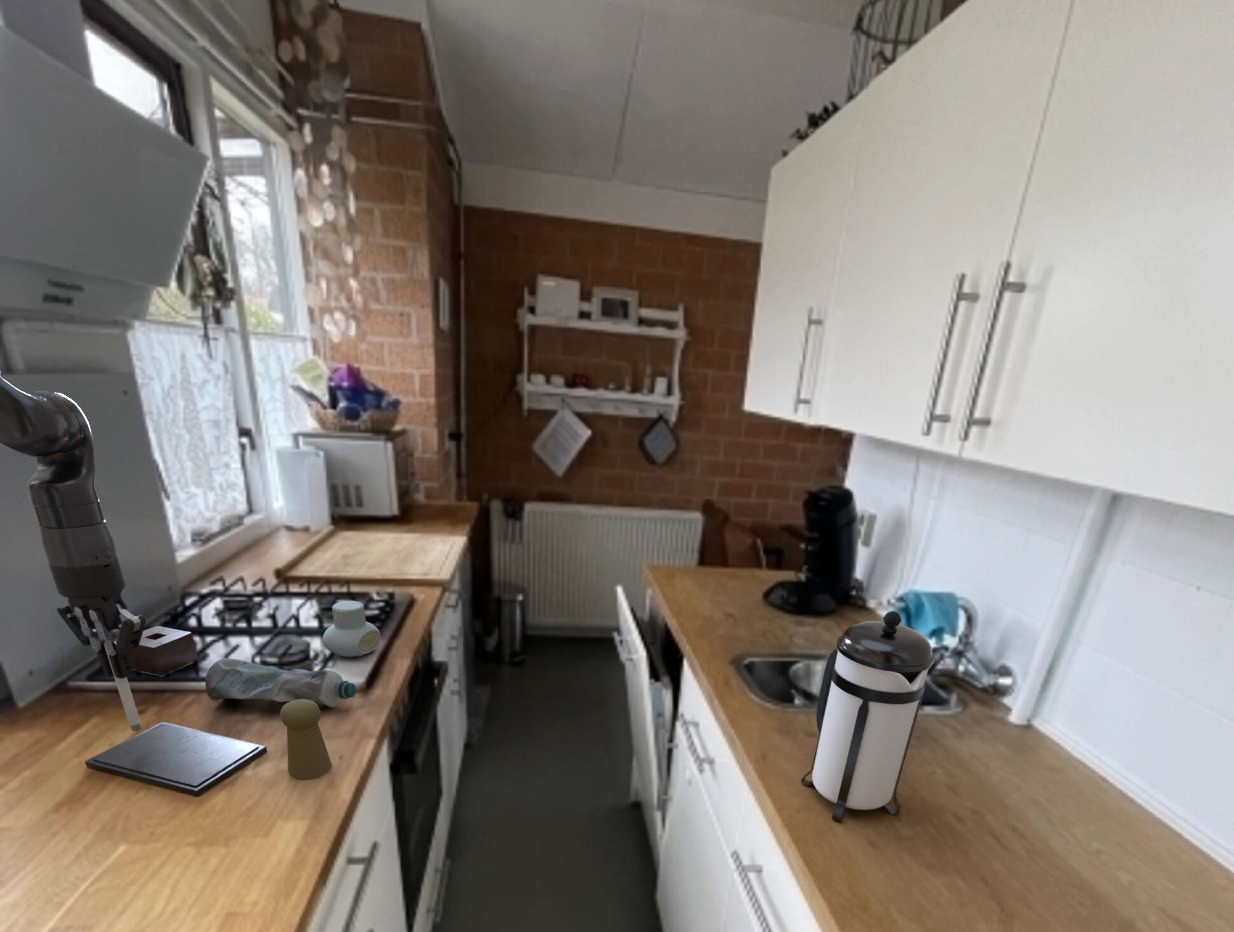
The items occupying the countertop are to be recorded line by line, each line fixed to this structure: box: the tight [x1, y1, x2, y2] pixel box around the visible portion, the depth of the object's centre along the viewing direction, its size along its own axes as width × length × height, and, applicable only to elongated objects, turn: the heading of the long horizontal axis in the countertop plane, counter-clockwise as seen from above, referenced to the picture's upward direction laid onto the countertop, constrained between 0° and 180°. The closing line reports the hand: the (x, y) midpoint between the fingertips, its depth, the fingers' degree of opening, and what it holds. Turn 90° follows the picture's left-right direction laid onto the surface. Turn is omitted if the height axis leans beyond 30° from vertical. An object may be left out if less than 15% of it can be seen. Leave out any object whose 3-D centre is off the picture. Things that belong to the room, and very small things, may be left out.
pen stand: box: [128, 625, 199, 675], centre depth 131 cm, size 8×8×6 cm
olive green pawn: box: [279, 699, 333, 781], centre depth 102 cm, size 6×6×11 cm
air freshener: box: [322, 600, 382, 658], centre depth 141 cm, size 11×8×10 cm
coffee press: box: [800, 610, 935, 823], centre depth 101 cm, size 17×16×30 cm
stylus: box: [104, 640, 142, 732], centre depth 102 cm, size 1×1×14 cm
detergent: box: [204, 657, 357, 708], centre depth 121 cm, size 13×7×25 cm
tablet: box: [84, 721, 268, 797], centre depth 105 cm, size 20×13×1 cm, turn 73°
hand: (119, 674), depth 101 cm, fingers closed on stylus, 1 cm apart
